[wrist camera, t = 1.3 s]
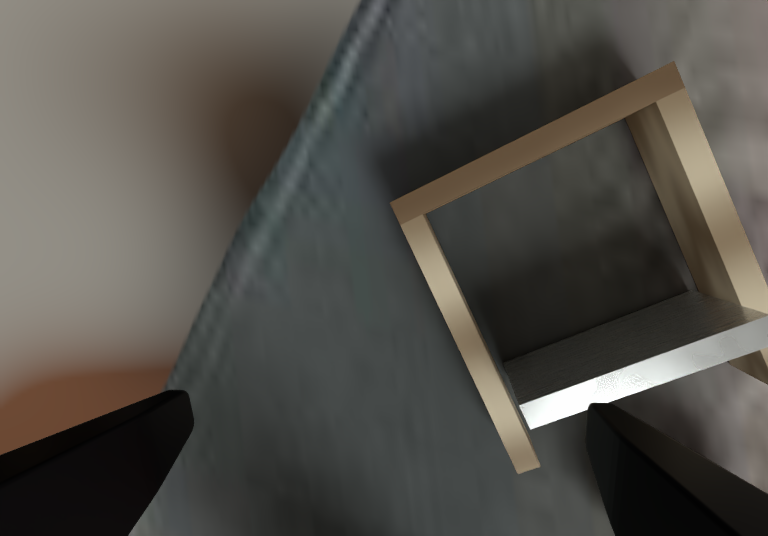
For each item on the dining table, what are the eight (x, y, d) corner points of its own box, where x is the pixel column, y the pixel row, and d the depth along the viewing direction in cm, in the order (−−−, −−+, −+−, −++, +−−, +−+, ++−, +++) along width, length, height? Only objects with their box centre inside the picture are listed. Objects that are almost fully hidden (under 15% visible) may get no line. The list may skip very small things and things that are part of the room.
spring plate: (700, 311, 20) (781, 342, 15) (511, 381, 22) (530, 429, 17) (692, 289, 20) (770, 314, 15) (502, 362, 22) (519, 405, 17)
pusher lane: (754, 356, 21) (806, 380, 18) (508, 440, 23) (517, 474, 20) (639, 83, 20) (673, 60, 17) (397, 203, 22) (389, 202, 19)
